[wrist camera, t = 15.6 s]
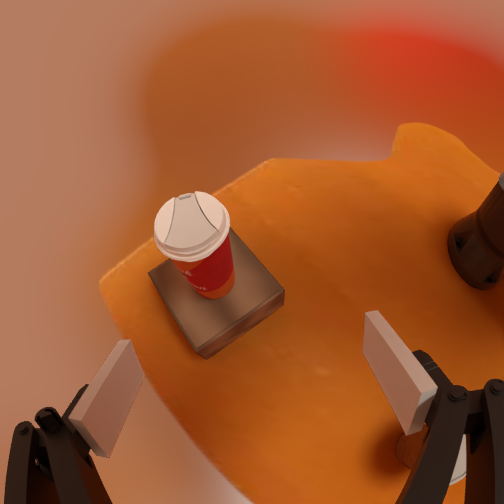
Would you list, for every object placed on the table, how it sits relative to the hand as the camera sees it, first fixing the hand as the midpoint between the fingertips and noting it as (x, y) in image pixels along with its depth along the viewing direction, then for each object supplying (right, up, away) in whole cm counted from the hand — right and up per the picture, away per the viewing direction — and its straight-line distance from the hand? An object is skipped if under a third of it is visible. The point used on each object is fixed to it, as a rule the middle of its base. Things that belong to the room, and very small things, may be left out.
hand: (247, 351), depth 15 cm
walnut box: (-5, -2, +29) cm, 29 cm away
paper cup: (-5, +1, +24) cm, 24 cm away
